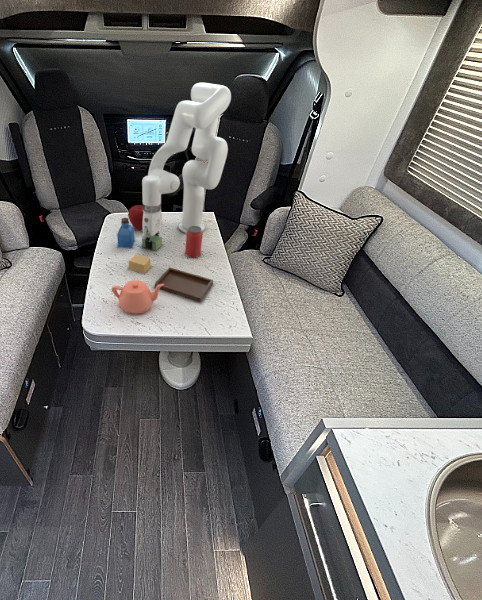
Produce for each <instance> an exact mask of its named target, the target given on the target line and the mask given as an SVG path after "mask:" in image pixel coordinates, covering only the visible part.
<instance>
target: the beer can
mask: <svg viewBox="0 0 482 600" xmlns="http://www.w3.org/2000/svg"><path fill="white" fill-rule="evenodd" d="M185 238H186V239H185V255H186V256H187V257H188V258H197V257H200V256H201V254H202V253H201V252H202V244H203V243H202V242H203V231H202V229H201V228H200V227H198V226H191V227H189V228H188V231H187V233H186V237H185Z"/></svg>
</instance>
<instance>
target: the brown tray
mask: <svg viewBox="0 0 482 600" xmlns="http://www.w3.org/2000/svg"><path fill="white" fill-rule="evenodd" d="M159 284H164V285H163V286H162V287H160V289H159V291H163V292H166V293H169V294H172V295H176V296H178V297H182V298H185V299H188V300H191V301H195V302H197V303H202V302H203V299H204V298H205V297H206V295H207V293H208V292H209V291H210V289H211V288H212V286H213V285H214V279H211V278H207V277H204V276H200V275H197V274H195V273H191V272H188V271H183V270H180V269H177V268H173V267H170V266H169V267H168V268H167V269H166V271H164V273H162V275H161V276H160V277H159V278H158V279H157V280H156V282H155V283H154V289H155V288H156V286H157V285H159Z"/></svg>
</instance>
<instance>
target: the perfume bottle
mask: <svg viewBox="0 0 482 600" xmlns="http://www.w3.org/2000/svg"><path fill="white" fill-rule="evenodd" d="M120 224H121V225H120V227H119V229H118V231H117V234H116V237H117V247H118V248H127V249H132V248H133V246H134V243H135V241H136V239H135V238H136V237H135V228H134V227H133V226H132V224H130V220H129V217H121V220H120Z"/></svg>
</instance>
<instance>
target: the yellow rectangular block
mask: <svg viewBox="0 0 482 600" xmlns="http://www.w3.org/2000/svg"><path fill="white" fill-rule="evenodd" d="M151 265H152V261H151V257H147V256H143V255H140V254H136V253H135V254H134V255H133V256H132V257H131V258H130V259H129V260H128V270H131V271H134V272H137V273H138V272H139V273H141V274H145V273H147V271H148V270H149V269H150V268H151V267H152V266H151Z"/></svg>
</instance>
